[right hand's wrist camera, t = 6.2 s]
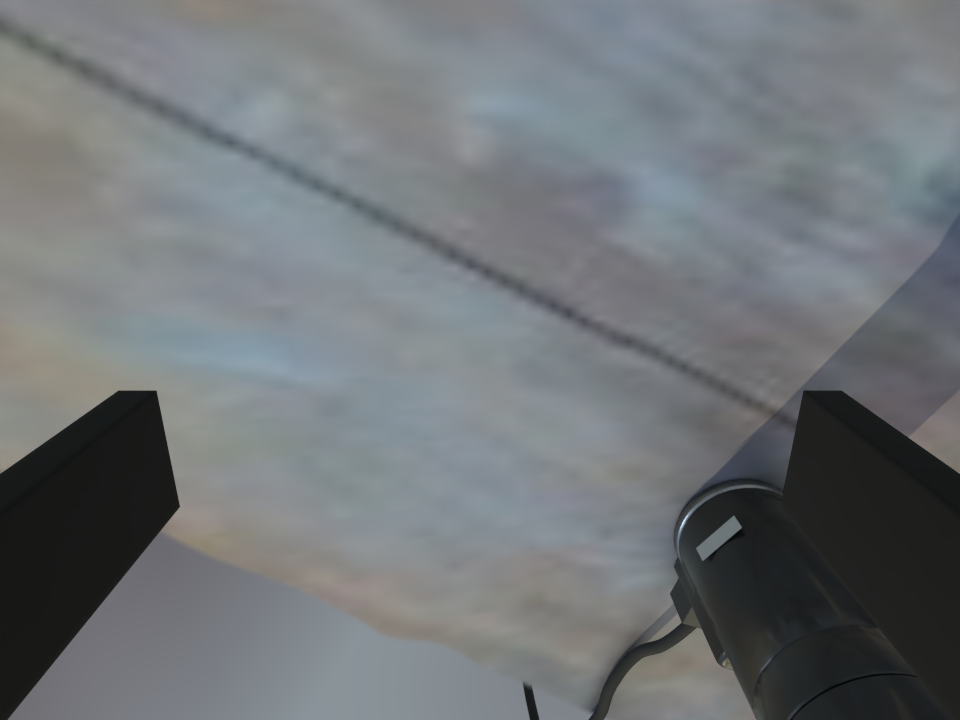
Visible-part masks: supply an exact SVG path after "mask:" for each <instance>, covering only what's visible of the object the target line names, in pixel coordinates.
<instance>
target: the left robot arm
mask: <svg viewBox="0 0 960 720" xmlns="http://www.w3.org/2000/svg"><path fill="white" fill-rule="evenodd" d="M782 495H783V492H782V491H781V490H779V489H778V488H776V487H774V486H772V485H770V484H768V483H765V482H761V481H756V480H733V481H728V482H724V483H721V484H718V485H715V486H713V487H711V488H709V489H707V490H705V491H703V492H702V493H700V494H699V495H698V496H696V497H695V498H694V499H693V500H692V501H691V502H690V503H689V504H688V505H687V506H686V507H685V509H684V510H683V511H682V513H681V515H680V516H679V518H678V521H677V523H676V526H675V530H674V546H675V550H676V553H677V556H678V559H677V561H676V563H675V565H674V568H675V570H676V572H677V575H678V577H679V579H678V581H677V582H676V584H675V586H674V588H673V589H672V591H671V593H670V595H671V597H672V600H673V602H674V605H675V607H676V609H677V612H678V614H679V617H680V619H681V621H682V623H681V624H680V625H679V626H678V627H676V628H675V629H674V630H673V631H671V632H670V633H669V634H667V635H666V636H664V637H663V638H661V639H659V640H656V641H653V642H649V643H645V644H642V645H640V646H638V647H636V648H635V649H633V650H632V651H631V652H629V653H628V654H627V655H626V656H625V657H624V658H623V659H622V660H621V661H620V662H619V664H618V665H617V666H616V668H615V669H614V671H613V672H612V674H611V675H610V677H609V678H608V680H607V681H606V683H605V685H604V687H603V690H602V693H601V696H600V700H599V703H598V706H597V708H596V710H595V712H594V713H593V715H592V716H591V717H590V719H589V720H604V718H605V717H606V715H607V712H608V710H609V707H610V703H611V699H612V696H613V694H614V692H615V690H616V688H617V687H618V685H619V684H620V682H621V680H622V679H623V678H624V676H625V675H626V673H627V672H628V671H629V670H630V669H631V667H632V666H633V665H634V664H636V663H637V662H638V661H639V660H640V659H642V658H644V657H646V656H649V655H654V654H658V653H661V652H664V651H666V650H668V649H669V648H671V647H673V646H674V645H676V644H677V643H679V642H680V641H681V640H683V639H684V638H685V637H686V636H688V635H689V634H690V633H691V632H692V631H693V630H695V629H696V628H701V629H702V630H703V632H704V635H705V637H706V639H707V641H708V644H709V646H710V648H711V650H712V652H713V655H714V657H715V659H716V661H717V663H718V664H719V665H720V666H722V667H724V668H727V669H730V670H733V671H734V673H735V675H736V677H737V679H738V681H739V683H740V686H741V688H742V690H743V692H744V694H745V696H746V698H747V700H748V702H749V704H750V707H751V709H752V711H753V713H754V715H755V717H756V719H757V720H953V719H952V718H951V717H950V716H949V715H948V713H947V712H946V711H945V710H944V708H943V707H942V706H941V705H940V703H939V702H938V701H937V700H936V698H935V697H934V696H933V695H932V694H931V692H930V691H929V690H928V689H927V687H926V686H925V685H924V684H923V682H922V681H921V680H920V679H919V678H918V676H917V675H916V674H915V673H914V671H913V670H912V669H911V668H910V666H909V665H908V664H907V663H906V661H905V660H904V659H903V658H902V657H901V655H900V654H899V653H898V652H897V650H896V649H895V648H894V647H893V645H892V644H891V643H890V642H889V640H888V639H887V638H886V637H885V636H884V634H883V633H882V632H881V631H880V629H879V628H878V627H877V626H876V624H875V623H874V622H873V621H872V619H871V618H870V617H869V616H868V615H867V613H866V612H865V611H864V610H863V608H862V607H861V606H860V605H859V603H858V602H857V601H856V600H855V599H854V597H853V596H852V595H851V594H850V592H849V591H848V590H847V589H846V587H845V586H844V585H843V584H842V582H841V581H840V580H839V579H838V578H837V576H836V575H835V574H834V573H833V571H832V570H831V569H830V568H829V566H828V565H827V564H826V563H825V561H824V560H823V559H822V558H821V557H820V555H819V554H818V553H817V552H816V550H815V549H814V548H813V547H812V545H811V544H810V543H809V542H808V540H807V539H806V538H805V537H804V536H803V534H802V533H801V532H800V531H799V529H798V528H797V527H796V526H795V524H794V523H793V522H792V521H791V519H790V518H789V517H788V516H787V515H786V513H785V512H784V511H783V510H782V508H781V507H780V505H781V500H782ZM523 688H524V694H525V699H526V704H527V708H528V713H529V718H530V720H539V715H538V711H537V707H536V703H535V698H534V693H533V688H532V686H530V685H527V684H525V683H523Z"/></svg>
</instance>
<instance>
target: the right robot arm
mask: <svg viewBox="0 0 960 720" xmlns="http://www.w3.org/2000/svg"><path fill="white" fill-rule="evenodd" d="M179 507H180V505H179V500H178V495H177V490H176V485H175V480H174V476H173V471H172V466H171V461H170V456H169V451H168V446H167V441H166V436H165V431H164V426H163V421H162V416H161V411H160V406H159V401H158V396H157V391H117V392H116V393H115V394H113V395H112V396H110V397H109V398H108V399H106V400H105V401H103V402H102V403H100V404H99V405H98V406H96V407H95V408H93V409H92V410H91V411H89V412H88V413H86V414H85V415H83V416H82V417H81V418H79V419H78V420H76V421H75V422H73V423H72V424H71V425H69V426H68V427H66V428H65V429H64V430H62V431H61V432H59V433H58V434H56V435H55V436H54V437H52V438H51V439H49V440H48V441H47V442H45V443H44V444H42V445H41V446H39V447H38V448H37V449H35V450H34V451H32V452H31V453H29V454H28V455H27V456H25V457H24V458H22V459H21V460H20V461H18V462H17V463H15V464H14V465H12V466H11V467H10V468H8V469H7V470H5V471H4V472H2V473H1V474H0V720H7V719H8V718H9V717H10V716H11V715H12V713H13V712H14V711H15V710H16V708H17V707H18V706H19V705H20V703H21V702H22V701H23V700H24V698H25V697H26V696H27V695H28V694H29V692H30V691H31V690H32V689H33V687H34V686H35V685H36V684H37V682H38V681H39V680H40V679H41V678H42V676H43V675H44V674H45V672H46V671H47V670H48V669H49V668H50V666H51V665H52V664H53V663H54V661H55V660H56V659H57V658H58V657H59V655H60V654H61V653H62V652H63V650H64V649H65V648H66V647H67V645H68V644H69V643H70V642H71V640H72V639H73V638H74V637H75V635H76V634H77V633H78V632H79V631H80V629H81V628H82V627H83V626H84V624H85V623H86V622H87V621H88V619H89V618H90V617H91V616H92V615H93V613H94V612H95V611H96V610H97V608H98V607H99V606H100V605H101V603H102V602H103V601H104V600H105V598H106V597H107V596H108V595H109V594H110V592H111V591H112V590H113V589H114V587H115V586H116V585H117V584H118V582H119V581H120V580H121V579H122V577H123V576H124V575H125V574H126V573H127V571H128V570H129V569H130V568H131V566H132V565H133V564H134V563H135V561H136V560H137V559H138V558H139V556H140V555H141V554H142V553H143V552H144V550H145V549H146V548H147V547H148V545H149V544H150V543H151V542H152V540H153V539H154V538H155V537H156V536H157V534H158V533H159V532H160V531H161V529H162V528H163V527H164V526H165V524H166V523H167V522H168V521H169V519H170V518H171V517H172V516H173V515H174V513H175V512H176V511H177V510H178V508H179ZM780 507H781V508H782V510H783V511H784V512H785V513H786V515H787V516H788V517H789V518H790V519H791V521H792V522H793V523H794V524H795V526H796V527H797V528H798V529H799V531H800V532H801V533H802V534H803V536H804V537H805V538H806V539H807V540H808V542H809V543H810V544H811V545H812V547H813V548H814V549H815V550H816V552H817V553H818V554H819V555H820V557H821V558H822V559H823V560H824V561H825V563H826V564H827V565H828V566H829V568H830V569H831V570H832V571H833V573H834V574H835V575H836V576H837V578H838V579H839V580H840V581H841V582H842V584H843V585H844V586H845V587H846V589H847V590H848V591H849V592H850V594H851V595H852V596H853V597H854V599H855V600H856V601H857V602H858V603H859V605H860V606H861V607H862V608H863V610H864V611H865V612H866V613H867V615H868V616H869V617H870V618H871V619H872V621H873V622H874V623H875V624H876V626H877V627H878V628H879V629H880V631H881V632H882V633H883V634H884V636H885V637H886V638H887V639H888V640H889V642H890V643H891V644H892V645H893V647H894V648H895V649H896V650H897V652H898V653H899V654H900V655H901V657H902V658H903V659H904V660H905V661H906V663H907V664H908V665H909V666H910V668H911V669H912V670H913V671H914V673H915V674H916V675H917V676H918V678H919V679H920V680H921V681H922V682H923V684H924V685H925V686H926V687H927V689H928V690H929V691H930V692H931V694H932V695H933V696H934V697H935V698H936V700H937V701H938V702H939V703H940V705H941V706H942V707H943V708H944V710H945V711H946V712H947V713H948V715H949V716H950V717H951V718H952V719H953V720H960V474H959V473H958V472H956V471H955V470H953V469H952V468H950V467H949V466H948V465H946V464H945V463H943V462H942V461H940V460H939V459H938V458H936V457H935V456H933V455H932V454H931V453H929V452H928V451H926V450H925V449H923V448H922V447H921V446H919V445H918V444H916V443H915V442H913V441H912V440H911V439H909V438H908V437H906V436H905V435H904V434H902V433H901V432H899V431H898V430H896V429H895V428H894V427H892V426H891V425H889V424H888V423H887V422H885V421H884V420H882V419H881V418H879V417H878V416H877V415H875V414H874V413H872V412H871V411H869V410H868V409H867V408H865V407H864V406H862V405H861V404H860V403H858V402H857V401H855V400H854V399H852V398H851V397H850V396H848V395H847V394H845V393H844V392H843V391H803V396H802V401H801V406H800V411H799V416H798V421H797V426H796V431H795V436H794V441H793V446H792V451H791V456H790V461H789V466H788V471H787V476H786V480H785V485H784V490H783V495H782V500H781V505H780Z"/></svg>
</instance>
